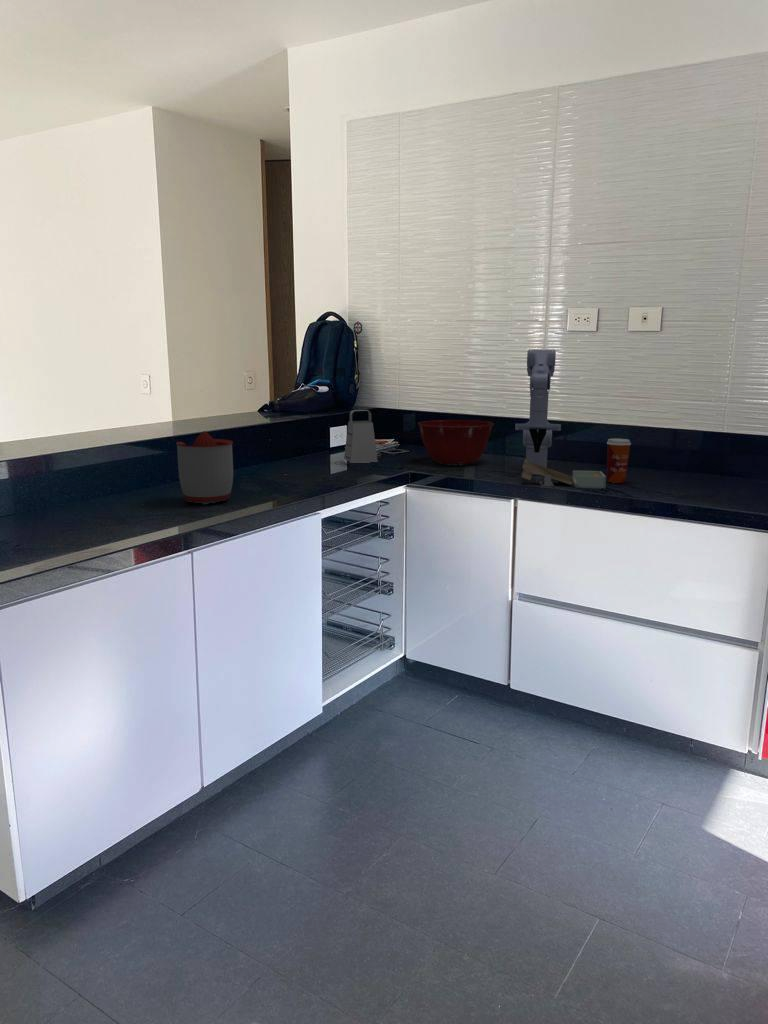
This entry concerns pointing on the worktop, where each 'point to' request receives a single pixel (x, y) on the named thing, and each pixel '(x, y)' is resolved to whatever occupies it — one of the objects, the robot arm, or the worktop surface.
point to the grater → (360, 441)
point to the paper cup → (617, 459)
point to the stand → (546, 480)
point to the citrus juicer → (205, 468)
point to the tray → (589, 479)
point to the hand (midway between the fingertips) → (536, 452)
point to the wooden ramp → (544, 472)
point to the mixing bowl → (455, 440)
